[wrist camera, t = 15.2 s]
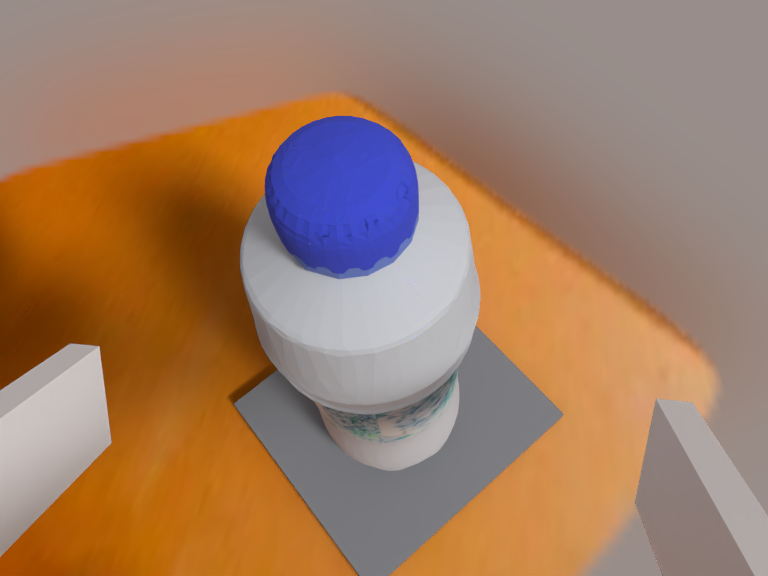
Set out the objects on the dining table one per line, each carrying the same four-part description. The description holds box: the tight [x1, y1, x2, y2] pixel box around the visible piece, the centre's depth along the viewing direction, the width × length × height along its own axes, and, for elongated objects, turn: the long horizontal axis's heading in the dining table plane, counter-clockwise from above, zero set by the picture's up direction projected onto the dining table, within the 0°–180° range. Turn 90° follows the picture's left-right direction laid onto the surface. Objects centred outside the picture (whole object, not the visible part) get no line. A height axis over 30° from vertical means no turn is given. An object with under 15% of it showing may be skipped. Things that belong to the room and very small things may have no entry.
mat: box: [234, 326, 563, 576], centre depth 31 cm, size 11×12×1 cm
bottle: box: [240, 116, 480, 471], centre depth 22 cm, size 7×7×20 cm
